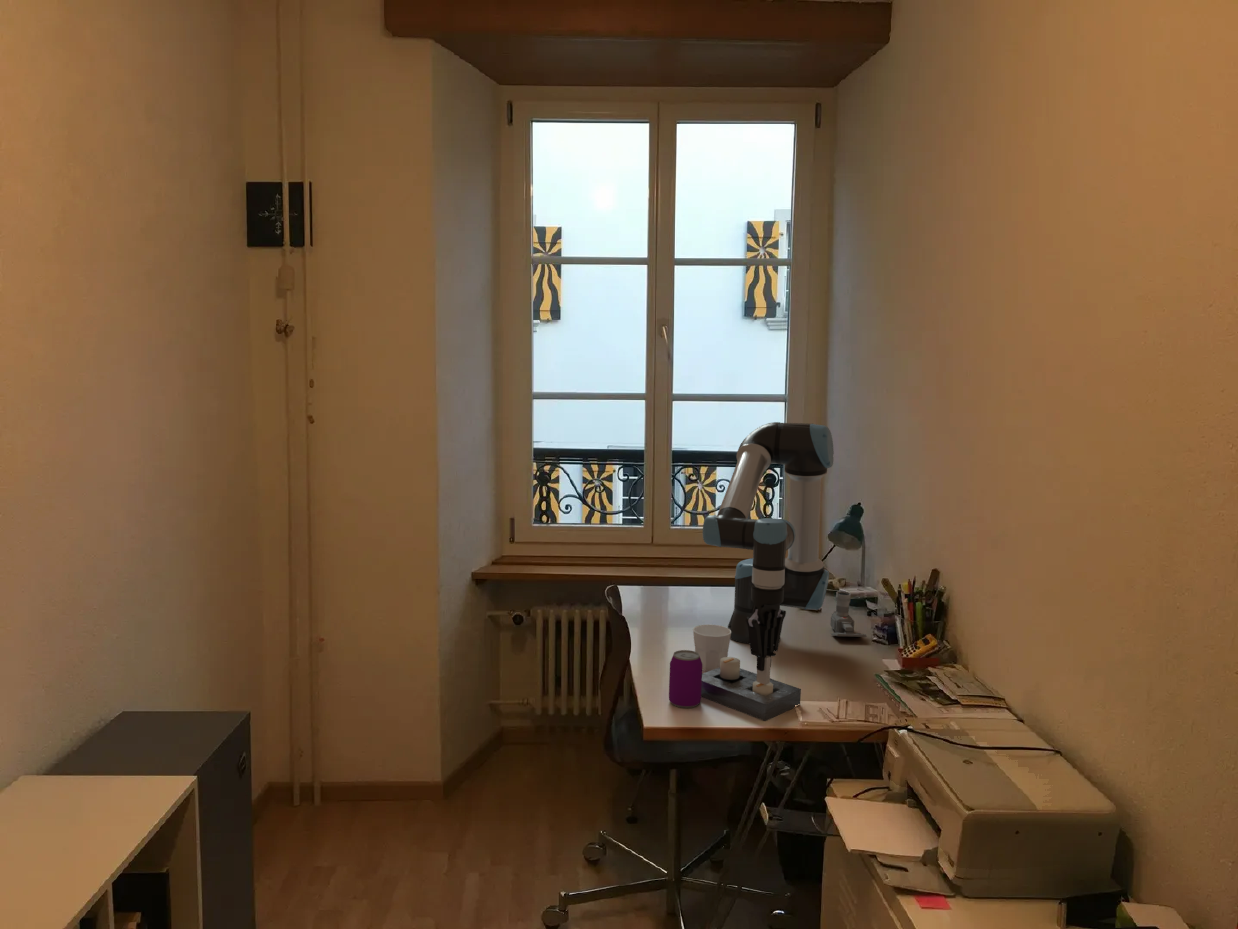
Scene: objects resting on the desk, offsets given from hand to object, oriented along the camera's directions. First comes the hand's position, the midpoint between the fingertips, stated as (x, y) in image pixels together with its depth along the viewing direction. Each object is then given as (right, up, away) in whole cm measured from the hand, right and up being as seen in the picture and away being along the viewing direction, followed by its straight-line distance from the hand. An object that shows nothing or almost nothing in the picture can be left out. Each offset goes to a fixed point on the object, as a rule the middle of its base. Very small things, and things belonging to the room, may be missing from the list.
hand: (762, 682), depth 206 cm
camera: (+34, 0, +56) cm, 65 cm away
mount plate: (-4, -5, +4) cm, 8 cm away
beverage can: (-18, -5, +1) cm, 19 cm away
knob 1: (-7, -1, +7) cm, 10 cm away
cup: (-10, -2, +26) cm, 28 cm away
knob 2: (0, -5, +1) cm, 5 cm away
